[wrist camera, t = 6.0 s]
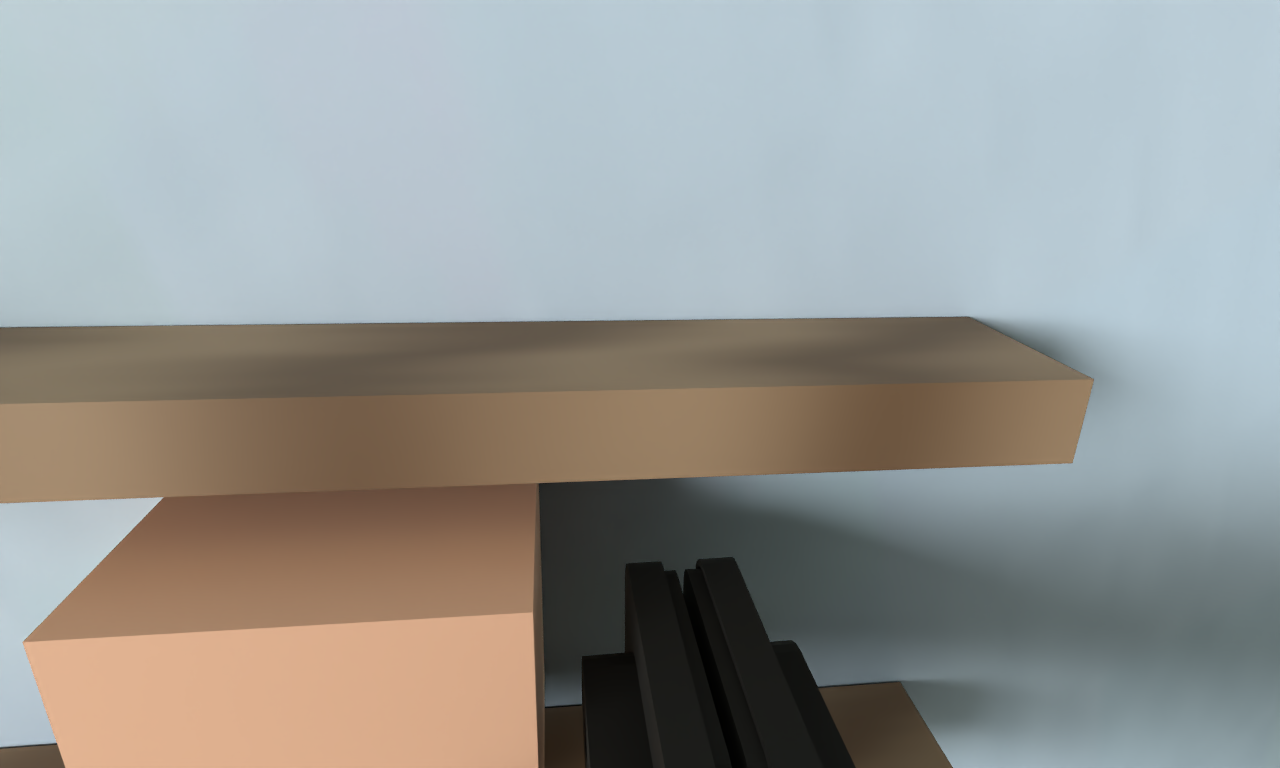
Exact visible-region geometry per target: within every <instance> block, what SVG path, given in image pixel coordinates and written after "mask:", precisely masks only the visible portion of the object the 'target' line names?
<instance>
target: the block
mask: <svg viewBox="0 0 1280 768" xmlns="http://www.w3.org/2000/svg"><path fill="white" fill-rule="evenodd" d="M23 645H24V648H25V651H26V654H27V657H28V660H29V663H30V665H31V668H32V671H33V674H34V677H35V680H36V683H37V686H38V689H39V692H40V695H41V698H42V701H43V704H44V706H45V709H46V712H47V715H48V718H49V721H50V724H51V727H52V730H53V733H54V736H55V739H56V742H57V745H58V747H59V750H60V753H61V756H62V759H63V762H64V765H65V768H544V722H545V674H544V641H543V607H542V574H541V541H540V507H539V483H527V484H500V485H473V486H447V487H420V488H393V489H367V490H340V491H313V492H286V493H260V494H233V495H206V496H179V497H164V498H163V499H162V500H161V501H160V502H159V503H158V504H157V505H156V506H155V507H154V508H153V509H152V510H151V511H150V512H149V513H148V514H147V515H146V516H145V517H144V518H143V519H142V520H141V521H140V522H139V523H138V525H137V526H136V527H135V528H134V529H133V530H132V531H131V532H130V533H129V534H128V535H127V536H126V537H125V538H124V539H123V540H122V541H121V542H120V543H119V544H118V545H117V546H116V547H115V548H114V549H113V550H112V551H111V552H110V553H109V554H108V555H107V556H106V557H105V558H104V559H103V560H102V561H101V562H100V563H99V564H98V565H97V567H96V568H95V569H94V570H93V571H92V572H91V573H90V574H89V575H88V576H87V577H86V578H85V579H84V580H83V581H82V582H81V583H80V584H79V585H78V586H77V587H76V588H75V589H74V590H73V591H72V592H71V593H70V594H69V595H68V596H67V597H66V598H65V599H64V600H63V601H62V602H61V603H60V604H59V605H58V606H57V608H56V609H55V610H54V611H53V612H52V613H51V614H50V615H49V616H48V617H47V618H46V619H45V620H44V621H43V622H42V623H41V624H40V625H39V626H38V627H37V628H36V629H35V630H34V631H33V632H32V633H31V634H30V635H29V636H28V637H27V638H26V639H25V640H24V641H23Z"/></svg>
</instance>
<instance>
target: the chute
mask: <svg viewBox="0 0 1280 768" xmlns="http://www.w3.org/2000/svg"><path fill="white" fill-rule="evenodd" d="M1093 381H1094V379H1092V378H1090V377H1088V376H1086V375H1084V374H1082V373H1080V372H1078V371H1076V370H1074V369H1072V368H1070V367H1068V366H1066V365H1064V364H1062V363H1060V362H1058V361H1056V360H1054V359H1052V358H1050V357H1048V356H1046V355H1044V354H1042V353H1040V352H1038V351H1036V350H1034V349H1032V348H1030V347H1028V346H1026V345H1024V344H1022V343H1020V342H1018V341H1016V340H1014V339H1012V338H1010V337H1008V336H1006V335H1004V334H1002V333H1000V332H998V331H996V330H994V329H992V328H990V327H988V326H986V325H984V324H982V323H980V322H978V321H976V320H974V319H972V318H970V317H913V318H824V319H734V320H644V321H555V322H465V323H375V324H285V325H196V326H106V327H16V328H0V503H19V502H46V501H73V500H99V499H126V498H153V497H179V496H206V495H233V494H260V493H286V492H313V491H340V490H367V489H393V488H420V487H447V486H473V485H500V484H527V483H554V482H580V481H607V480H634V479H660V478H687V477H714V476H741V475H767V474H794V473H821V472H847V471H874V470H901V469H928V468H954V467H981V466H1008V465H1034V464H1061V463H1073V459H1074V455H1075V451H1076V447H1077V443H1078V439H1079V436H1080V432H1081V428H1082V424H1083V420H1084V416H1085V412H1086V409H1087V405H1088V401H1089V397H1090V393H1091V389H1092V385H1093ZM818 689H819V691H820V693H821V695H822V697H823V699H824V701H825V704H826V706H827V708H828V710H829V712H830V714H831V716H832V718H833V720H834V723H835V725H836V727H837V729H838V731H839V733H840V735H841V737H842V739H843V742H844V744H845V746H846V748H847V750H848V752H849V754H850V756H851V758H852V761H853V763H854V765H855V767H856V768H953V767H952V766H951V764H950V762H949V761H948V759H947V757H946V756H945V754H944V753H943V751H942V749H941V748H940V746H939V744H938V743H937V741H936V740H935V738H934V736H933V735H932V733H931V731H930V730H929V728H928V727H927V725H926V723H925V722H924V720H923V718H922V717H921V715H920V714H919V712H918V710H917V709H916V707H915V705H914V704H913V702H912V701H911V699H910V697H909V696H908V694H907V692H906V691H905V689H904V688H903V686H902V684H901V683H900V682H894V683H880V684H867V685H854V686H840V687H827V688H818ZM0 768H65V765H64V762H63V759H62V756H61V753H60V750H59V747H58V745H45V746H31V747H18V748H4V749H0ZM544 768H585V755H584V736H583V711H582V706H570V707H557V708H545V722H544Z"/></svg>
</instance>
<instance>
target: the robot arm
mask: <svg viewBox="0 0 1280 768" xmlns="http://www.w3.org/2000/svg"><path fill="white" fill-rule="evenodd" d="M582 711H583V736H584V755H585V768H856V767H855V765H854V763H853V761H852V758H851V756H850V754H849V752H848V750H847V748H846V746H845V744H844V742H843V739H842V737H841V735H840V733H839V731H838V729H837V727H836V725H835V723H834V720H833V718H832V716H831V714H830V712H829V710H828V708H827V706H826V704H825V701H824V699H823V697H822V695H821V693H820V691H819V689H818V687H817V685H816V682H815V680H814V678H813V676H812V674H811V672H810V670H809V668H808V666H807V663H806V661H805V659H804V657H803V655H802V653H801V651H800V649H799V648H798V646H797V644H796V643H795V642H793V641H792V640H789V641H776V642H770V641H769V638H768V636H767V634H766V631H765V629H764V627H763V624H762V622H761V620H760V617H759V615H758V613H757V610H756V608H755V605H754V603H753V601H752V598H751V596H750V594H749V591H748V589H747V587H746V584H745V582H744V580H743V577H742V575H741V572H740V570H739V568H738V565H737V563H736V561H735V559H734V558H733V557H726V558H709V559H698V560H697V563H696V569H686V570H685V572H684V585H683V593H682V589H681V586H680V582H679V579H678V575H677V572H676V571H675V570H669V571H664V568H663V564H662V562H661V561H660V562H643V563H627V564H626V568H625V653H617V654H603V655H590V656H582Z"/></svg>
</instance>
